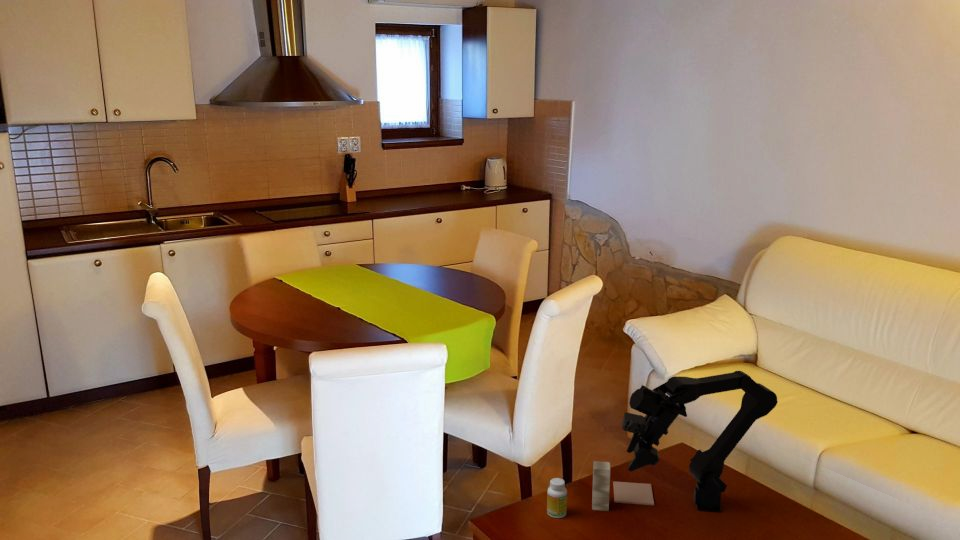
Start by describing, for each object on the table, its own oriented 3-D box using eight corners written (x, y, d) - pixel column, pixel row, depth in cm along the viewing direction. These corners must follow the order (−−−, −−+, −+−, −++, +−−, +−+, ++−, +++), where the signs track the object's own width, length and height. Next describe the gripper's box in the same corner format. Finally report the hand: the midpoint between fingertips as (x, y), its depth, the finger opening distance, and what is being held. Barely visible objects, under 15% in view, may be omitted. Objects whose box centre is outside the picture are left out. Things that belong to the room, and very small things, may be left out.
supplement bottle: (560, 521, 196) (560, 488, 194) (543, 514, 199) (543, 482, 197) (570, 512, 200) (570, 480, 198) (553, 506, 204) (554, 474, 202)
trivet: (650, 485, 214) (650, 484, 214) (653, 505, 204) (654, 503, 204) (613, 482, 216) (613, 481, 216) (614, 502, 205) (614, 500, 205)
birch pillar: (608, 502, 205) (609, 462, 203) (608, 511, 201) (610, 470, 198) (592, 501, 206) (593, 461, 203) (592, 509, 202) (593, 468, 199)
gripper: (633, 389, 204) (603, 429, 209) (636, 422, 186) (603, 465, 192) (667, 409, 204) (636, 448, 210) (673, 444, 187) (639, 486, 192)
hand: (628, 461), depth 201 cm, fingers open, 9 cm apart
